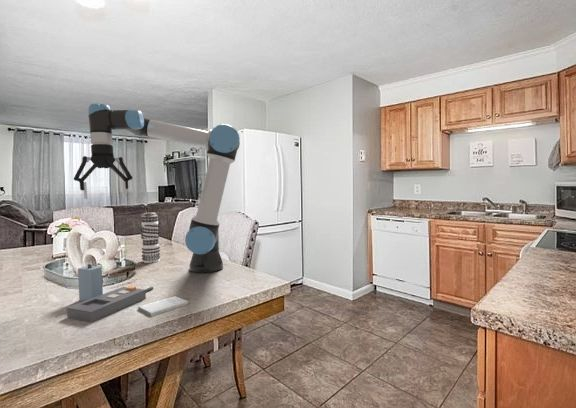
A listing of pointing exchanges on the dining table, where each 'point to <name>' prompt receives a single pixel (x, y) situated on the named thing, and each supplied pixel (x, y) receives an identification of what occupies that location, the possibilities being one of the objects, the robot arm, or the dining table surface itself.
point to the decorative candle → (150, 237)
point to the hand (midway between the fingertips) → (105, 198)
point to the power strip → (106, 303)
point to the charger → (90, 282)
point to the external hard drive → (162, 305)
